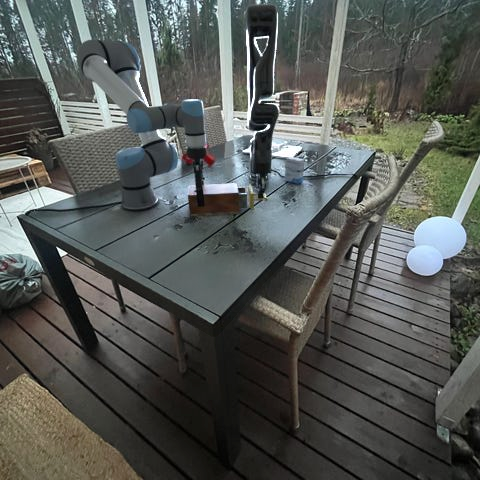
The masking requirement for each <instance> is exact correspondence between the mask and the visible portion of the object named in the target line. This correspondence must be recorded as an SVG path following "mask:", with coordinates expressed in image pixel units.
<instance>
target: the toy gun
mask: <svg viewBox="0 0 480 480" xmlns="http://www.w3.org/2000/svg"><path fill="white" fill-rule="evenodd" d="M205 146H206V148H207V150H208V149H209V148H210V145H209V144H208V142H207V141H206V145H205ZM181 158H182V159H183V161H184V162H185V164H186V165H189V164H191V163H193V161H194V159H190V158H188V157H187V151H186V152H185V153H184V154H183V155H181ZM202 160H203V162H205V163H206V164H207V165H208V167H210V166H212V165H214V164H215V163H216V162H215V161H216V158H215V156H213V155H212V154H210V153H209V152H208V151H207V156H206V157H205V158H201V161H202Z"/></svg>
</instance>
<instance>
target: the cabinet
mask: <svg viewBox="0 0 480 480" xmlns="http://www.w3.org/2000/svg"><path fill="white" fill-rule="evenodd" d="M202 187H203V194H204V205H205V207H198V204H197V195H196V192H194V190H196V185H195V184H189V185H188V190H187V202H188V209H189V217H203V216H205V217H206V216H221V215H223V216H224V215H239V214H240V209H239V192H238V188H237V187H238V184H237V182H232V183H209V184H208V183H207V184H204V185H202Z"/></svg>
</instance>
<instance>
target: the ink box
mask: <svg viewBox="0 0 480 480" xmlns="http://www.w3.org/2000/svg"><path fill="white" fill-rule="evenodd" d="M305 162H306V159H304V158H299V157H296V156H294V157H289V158H287V159H286V158H285V169H284V176H285V178H284V181H285V182H289V183H293V184H295V185H298V184H300V183H302V182H303V180H304V178H303V176H304V173H305V171H304V170H305Z"/></svg>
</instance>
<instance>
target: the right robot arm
mask: <svg viewBox="0 0 480 480" xmlns="http://www.w3.org/2000/svg"><path fill="white" fill-rule="evenodd" d="M278 14H279V13H278V7H277V5H276V4H275V3H257V4H255V3H254V4H249V5H248V6H247V7H246V12H245V29H246V30H245V33H246V47H247V49H246V50H247V95H248V107H247V108H248V109H247V128H248V130H249V131H250V132H254V134H253V138H251V139H250V146H251V148H250V154H249V157H250V158H249V160H250V161H249V165H250V166H249V167H250V168H249V178H250V180H253V181H256V182H255V185H256V191H257V193H258V195H257V198H256V199H261V198H263V193H265V194H266V190H267V186H268V185H267V181H268V179H269V174H272V172H273V173H275V174H277V175H278V176H279V177H280V178H283V179H285V175H282V174H281V173H280V172H279V171H277V170H276V169H272V159H273V157H272V141H273V139H274V138H273V137H274V133H275V129H276V126H277V123H278V119H279V116H280V109H279V106H278V105H277V104H276V103H274V102H273V103H272V102H271V103H268V102H267V103H265V102H264V103H263V102H261V101H264V100H267V99H268V100H269V99H270V98H272V97H273V96H274V93H275V92H274V91H275V83H274V82H275V78H274V76H275V73H274V72H275V59H276V52H277V51H276V50H277V39H278V26H279V25H278V23H279V15H278ZM262 38H263V39H265V38H266V39H267V42H266V46H265V49H264V50H263V52H262V53H261V51H260V50H259V47H258V44H257V41H256V39H262ZM327 174H328V175H323V174H316V175H317V176H312V175H303V179H304V178H319V177H328V176H348V175H351V176H354V177H357V174H355V175H353V174H337V173H327ZM262 201H264V200H258V202H262Z"/></svg>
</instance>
